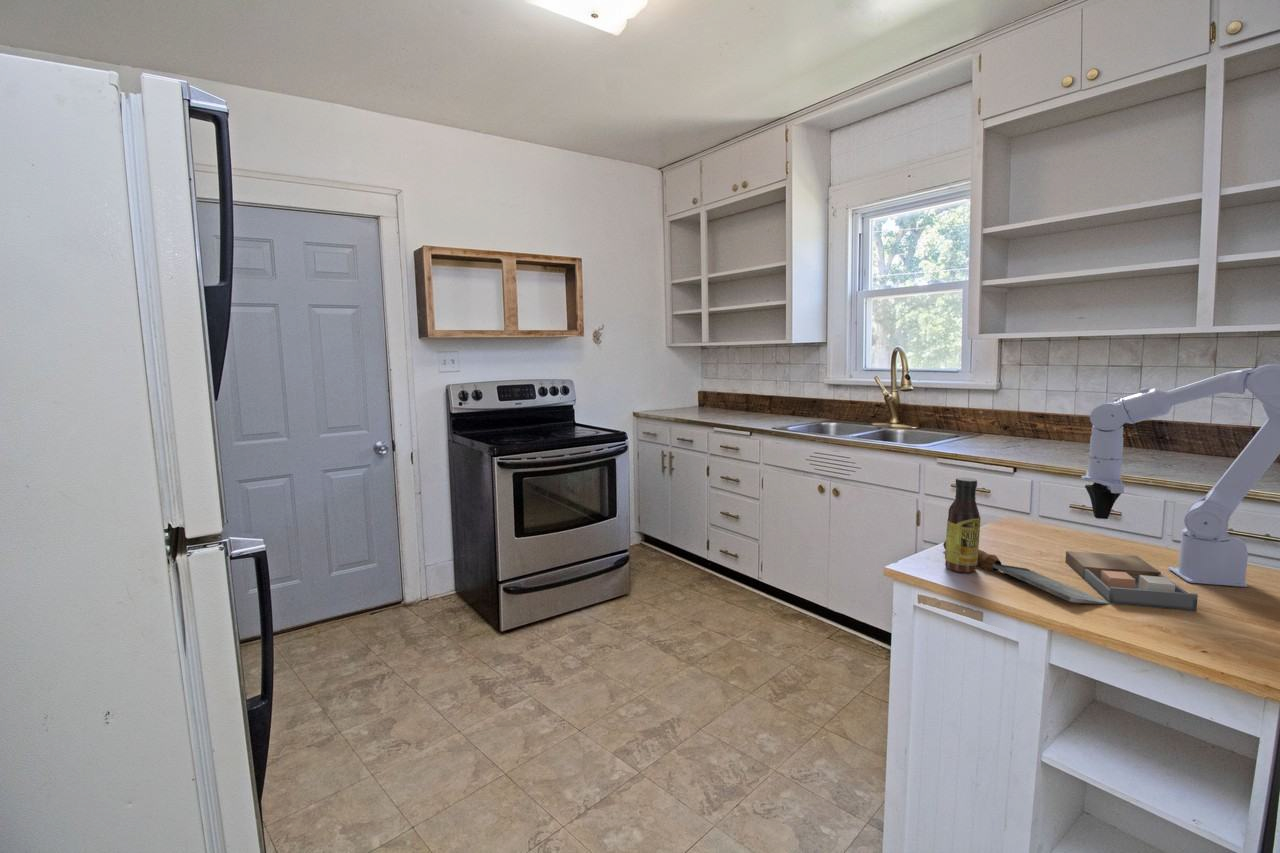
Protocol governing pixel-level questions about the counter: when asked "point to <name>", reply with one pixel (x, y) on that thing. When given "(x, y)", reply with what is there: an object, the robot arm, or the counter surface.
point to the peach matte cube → (1117, 579)
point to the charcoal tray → (1142, 594)
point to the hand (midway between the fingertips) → (1101, 518)
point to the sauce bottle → (963, 528)
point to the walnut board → (1109, 563)
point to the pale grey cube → (1155, 583)
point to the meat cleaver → (1036, 579)
